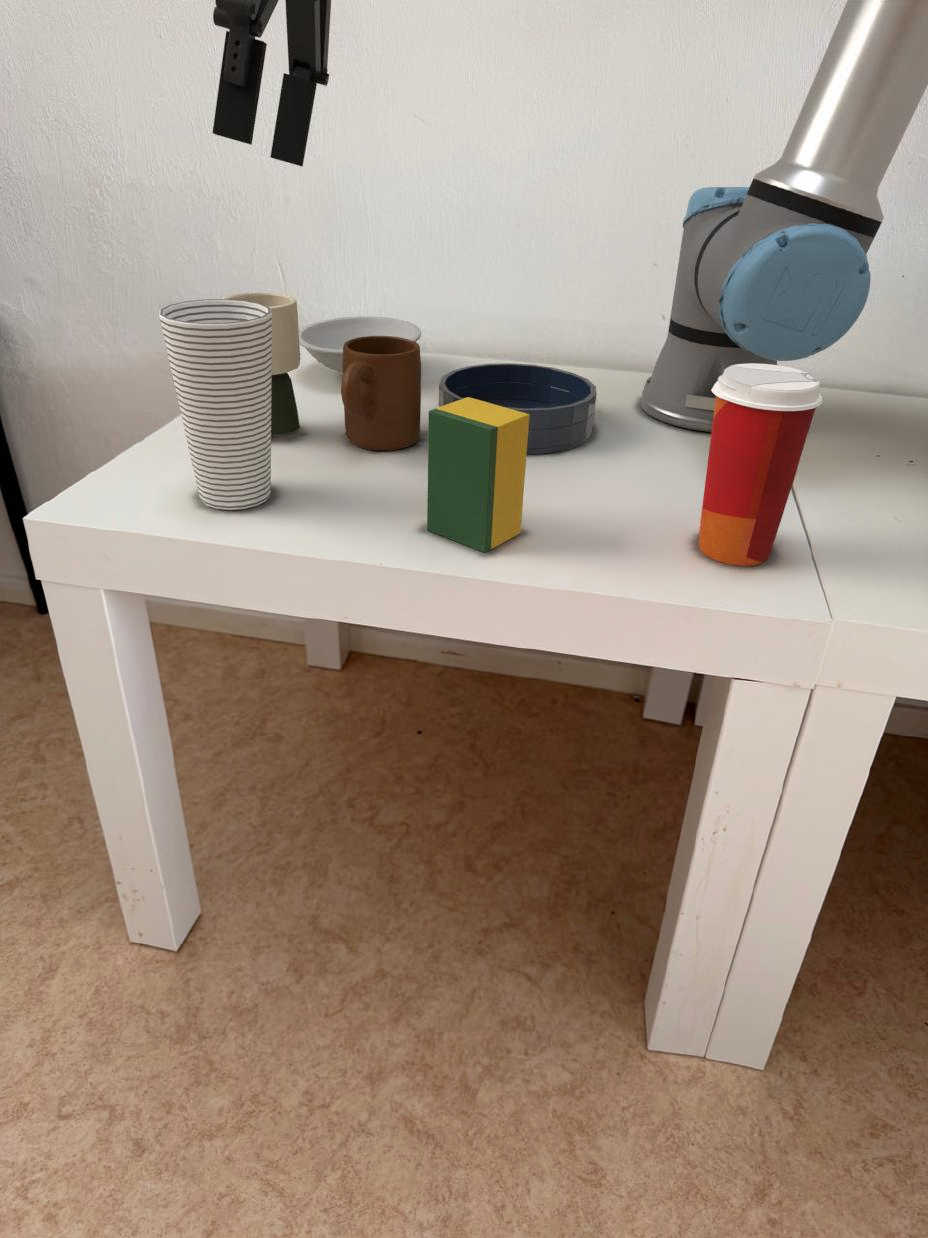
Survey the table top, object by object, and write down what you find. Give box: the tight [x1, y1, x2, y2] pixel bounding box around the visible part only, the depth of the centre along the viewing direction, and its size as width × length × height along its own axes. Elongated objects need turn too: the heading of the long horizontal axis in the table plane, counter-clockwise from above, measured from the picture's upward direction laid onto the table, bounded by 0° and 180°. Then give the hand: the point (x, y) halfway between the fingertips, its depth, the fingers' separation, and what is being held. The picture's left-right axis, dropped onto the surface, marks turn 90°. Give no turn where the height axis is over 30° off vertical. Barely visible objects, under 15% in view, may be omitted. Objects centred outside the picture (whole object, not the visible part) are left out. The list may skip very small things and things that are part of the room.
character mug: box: [221, 292, 301, 436], centre depth 87 cm, size 11×7×13 cm, turn 167°
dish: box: [299, 315, 422, 373], centre depth 107 cm, size 18×14×5 cm
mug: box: [340, 336, 422, 452], centre depth 86 cm, size 12×8×9 cm, turn 162°
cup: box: [158, 298, 272, 511], centre depth 72 cm, size 8×8×16 cm
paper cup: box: [698, 363, 823, 567], centre depth 67 cm, size 8×8×14 cm
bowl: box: [437, 362, 598, 455], centre depth 93 cm, size 16×16×4 cm
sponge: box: [426, 397, 529, 554], centre depth 70 cm, size 5×6×10 cm
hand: (261, 152), depth 71 cm, fingers open, 13 cm apart
